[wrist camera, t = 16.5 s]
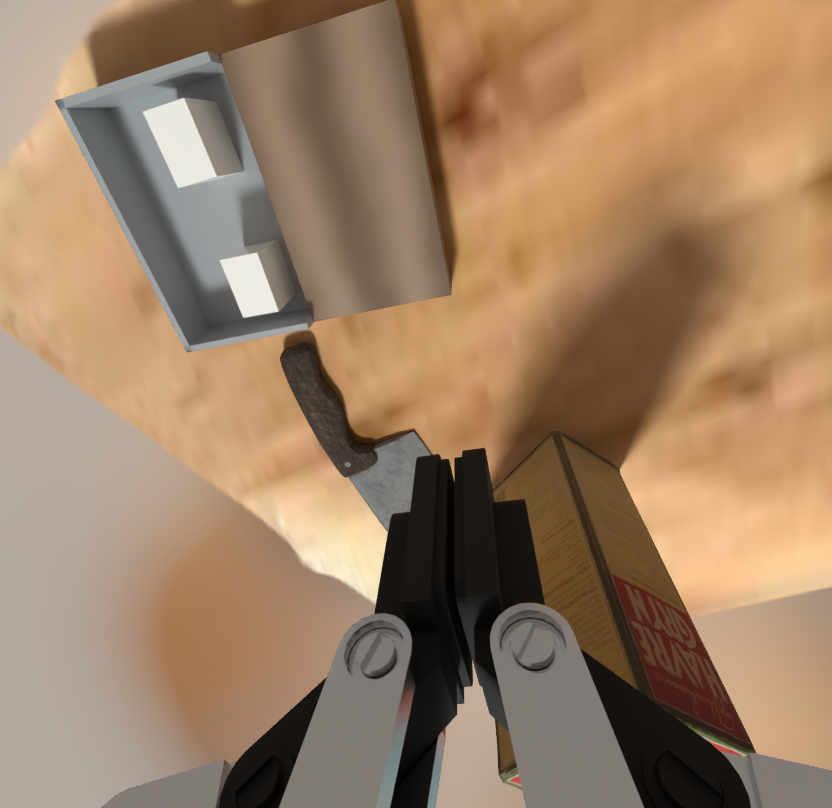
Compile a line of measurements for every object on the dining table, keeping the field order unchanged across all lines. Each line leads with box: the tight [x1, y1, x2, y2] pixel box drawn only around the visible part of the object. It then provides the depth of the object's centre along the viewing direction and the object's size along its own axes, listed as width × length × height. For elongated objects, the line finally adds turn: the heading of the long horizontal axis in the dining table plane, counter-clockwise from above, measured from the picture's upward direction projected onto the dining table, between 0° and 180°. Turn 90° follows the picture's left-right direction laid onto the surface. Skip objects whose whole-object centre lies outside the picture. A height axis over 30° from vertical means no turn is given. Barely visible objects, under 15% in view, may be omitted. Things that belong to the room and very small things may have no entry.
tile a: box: [220, 240, 296, 318], centre depth 36 cm, size 4×4×3 cm
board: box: [219, 0, 452, 322], centre depth 33 cm, size 12×18×3 cm, turn 13°
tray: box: [55, 51, 314, 352], centre depth 34 cm, size 11×18×4 cm, turn 13°
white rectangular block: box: [143, 98, 244, 188], centre depth 31 cm, size 4×4×3 cm
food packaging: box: [493, 432, 756, 790], centre depth 38 cm, size 13×9×25 cm
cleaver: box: [280, 343, 431, 532], centre depth 47 cm, size 29×10×2 cm, turn 27°
